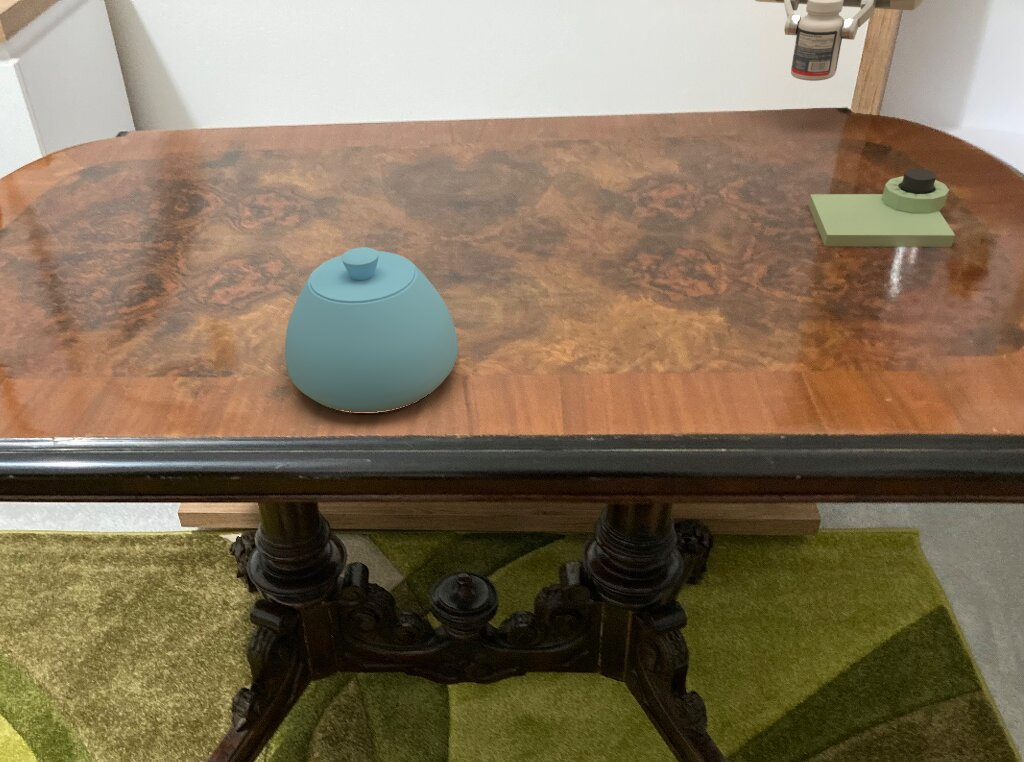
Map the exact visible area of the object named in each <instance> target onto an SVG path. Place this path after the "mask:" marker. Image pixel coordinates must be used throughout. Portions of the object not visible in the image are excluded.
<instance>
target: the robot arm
mask: <svg viewBox="0 0 1024 762" xmlns="http://www.w3.org/2000/svg"><path fill="white" fill-rule="evenodd" d="M754 1H755V2H758V3H773V4H774V3H775V4H776V3H777V4H784V10H785V14H786V17H787V19H786V21H785V25H784V35H786V36H797V30H798V25H799V22H800V20H801V19H802V16H801V15H799V14H795V13H794V12H795V11H798V8H799V6H800V5H807V2H808V0H754ZM923 3H925V0H843V6H842V7H844V8H845V7H846V8H860V10H859V11H858V12H857V13H856V14H855V15H854V16H853V17H852V18H851V17H849V18H848V17H846V18H844V26H843V27H842V30H841V39H842V40H853V41H854V40H855V38H856V36H857V32H858V29H859V28H861V27H862V26H863V25H864V24H865V23H866V22H868V20H869V19H871V17H873V15H874V12H875V9H882V10H898V11H914V10H916V9H918V8H919V7H920V6H921V5H922V4H923Z"/></svg>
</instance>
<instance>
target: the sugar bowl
mask: <svg viewBox="0 0 1024 762" xmlns="http://www.w3.org/2000/svg"><path fill="white" fill-rule="evenodd" d="M458 340H459V339H458V333H457V331H456V327H455V323H454V320H453V318H452V314H451V312H450V310H449V308H448V305H447V304H446V302H445V300H444V299H443V297H442V296H441V294H440V293H439V292H438V290H437V289H436V288H435V287H434V285H433V284H432V282H431V280H429V279H428V277H427V276H426V274H424V273H423V272H422V271H421V269H420V268H418V267H417V265H415V264H414V262H412V261H411V260H410V259H408V258H406V257H404V256H402V255H400V254H397V253H393V252H388V251H383V250H382V251H380V250H377V249H375V248H372V247H367V246H366V247H365V246H362V247H355V248H351V249H349V250H346V251H345V252H344V253H342V254H341V255H337V256H335V257H333V258H330V259H328V260H326V261H325V262H323V263H321V264H320V265H318V267H316V268H315V269H314V270H313V271H312V272H311V274H310V275H309V277H308V278H307V280H306V281H305V283H304V285H303V287H302V289H301V291H300V293H299V295H298V297H297V299H296V301H295V303H294V306H293V308H292V311H291V313H290V317H289V320H288V324H287V328H286V333H285V342H284V360H285V367H286V372H287V374H288V378H289V379H290V380H291V381H292V383H293V384H294V385H295V387H296V388H297V389H298V390H299V391H300V392H301V393H302V394H304V395H305V396H307V397H308V398H309V399H311V400H313V401H315V402H316V403H318V404H320V405H321V406H324V405H325V406H324V407H326V406H327V407H326V408H328V407H330V408H329V409H331V408H334V409H338V410H344V411H349V412H350V411H351V412H377V411H386V410H392V409H396V408H400V407H403V406H406V405H409V404H412V403H414V402H416V401H419V400H420V399H422V398H424V397H425V398H427V397H428V396H429V395H431V394H432V393H433V392H434V391H435V390H436V389H438V387H439V386H441V384H442V383H443V382H444V381H445V380H446V378H448V376H449V375H450V374H451V372H452V371H453V368H455V364H456V363H457V358H458V355H459V341H458ZM428 394H429V395H428ZM427 395H428V396H427ZM426 396H427V397H426ZM425 398H424V399H425ZM422 400H423V399H422ZM420 401H421V400H420ZM420 401H419V402H420ZM412 405H413V404H412Z"/></svg>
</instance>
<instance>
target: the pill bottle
mask: <svg viewBox="0 0 1024 762" xmlns="http://www.w3.org/2000/svg"><path fill="white" fill-rule="evenodd" d="M843 7H844V6H843V0H808V2H807V4H806V9H805V11H806V13H807V15H804V16H803V17H801V20H800V22H799V25H798V30H797V35H796V38H795V44H794V50H793V57H792V62H791V67H790V68H791V69H790V75H791V76H792V77H793V78H795V79H798V80H802V81H810V82H817V81H825V80H829V79H831V78H832V77H835V75H836V73H837V68H838V63H839V59H840V52H841V47H842V41H843V39H841V30H842V27H843V26H844V21H845V18H843V17H842V16H841V15H840V13H841V12H842V10H843Z"/></svg>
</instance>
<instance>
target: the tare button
mask: <svg viewBox="0 0 1024 762" xmlns="http://www.w3.org/2000/svg"><path fill="white" fill-rule="evenodd" d="M903 176H904V177H903V181H902V185H901V190H903V191H905V192H908V193H913V194H929V193H931V192H932V190H933V187H934V183H935V180H937V174H936V172H934V171H932V170H929V169H926V168H910V169H907V170H906V171H904V174H903Z"/></svg>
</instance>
